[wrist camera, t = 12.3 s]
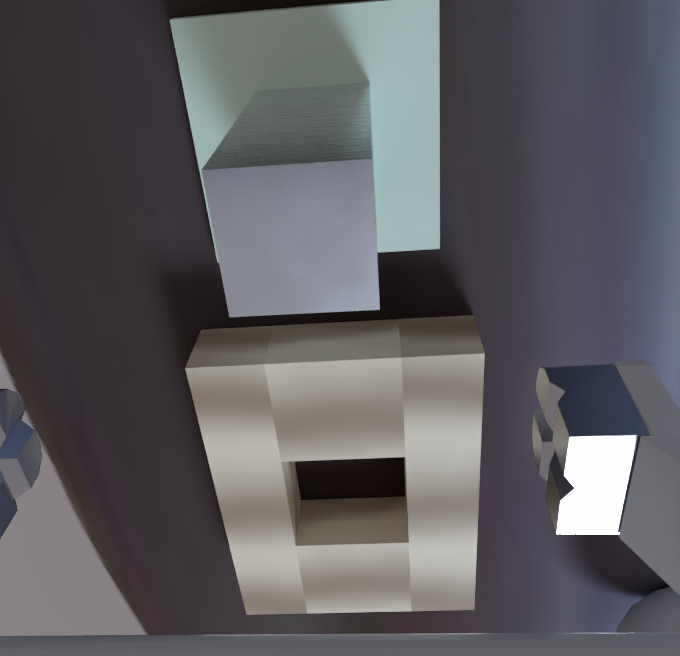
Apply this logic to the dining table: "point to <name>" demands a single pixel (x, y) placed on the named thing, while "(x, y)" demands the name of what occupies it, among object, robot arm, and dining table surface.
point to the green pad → (331, 69)
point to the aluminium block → (297, 203)
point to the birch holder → (345, 443)
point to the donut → (654, 613)
